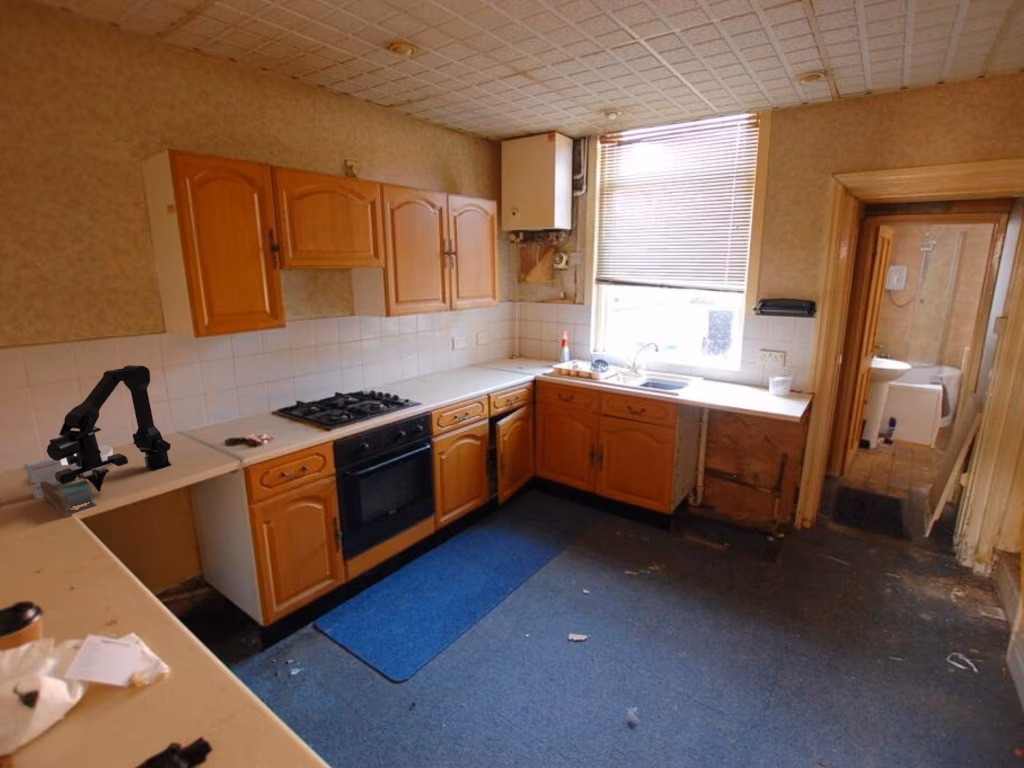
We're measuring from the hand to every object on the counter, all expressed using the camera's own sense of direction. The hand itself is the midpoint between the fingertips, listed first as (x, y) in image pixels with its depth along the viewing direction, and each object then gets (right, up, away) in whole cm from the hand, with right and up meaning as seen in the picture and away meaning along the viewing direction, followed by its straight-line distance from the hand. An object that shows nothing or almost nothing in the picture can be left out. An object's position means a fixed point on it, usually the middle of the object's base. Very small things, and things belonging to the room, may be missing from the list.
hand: (98, 491), depth 180 cm
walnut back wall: (-7, -4, -8) cm, 11 cm away
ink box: (-19, -1, +3) cm, 19 cm away
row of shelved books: (-9, -2, -1) cm, 9 cm away
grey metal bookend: (0, -4, -8) cm, 9 cm away
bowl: (-22, +3, +21) cm, 31 cm away
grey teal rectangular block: (-4, -3, -5) cm, 7 cm away
